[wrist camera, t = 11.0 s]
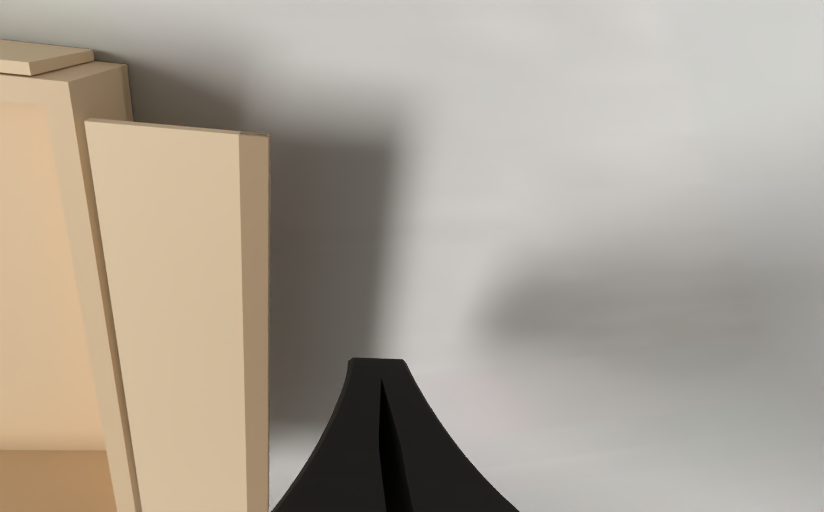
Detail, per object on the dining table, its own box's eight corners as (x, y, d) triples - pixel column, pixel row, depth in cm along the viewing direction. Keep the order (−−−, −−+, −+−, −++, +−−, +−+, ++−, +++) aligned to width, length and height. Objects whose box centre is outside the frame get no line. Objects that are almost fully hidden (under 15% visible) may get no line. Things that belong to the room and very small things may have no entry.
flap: (146, 508, 16) (269, 505, 16) (142, 519, 15) (267, 515, 16) (90, 117, 11) (270, 133, 11) (83, 121, 10) (268, 137, 11)
